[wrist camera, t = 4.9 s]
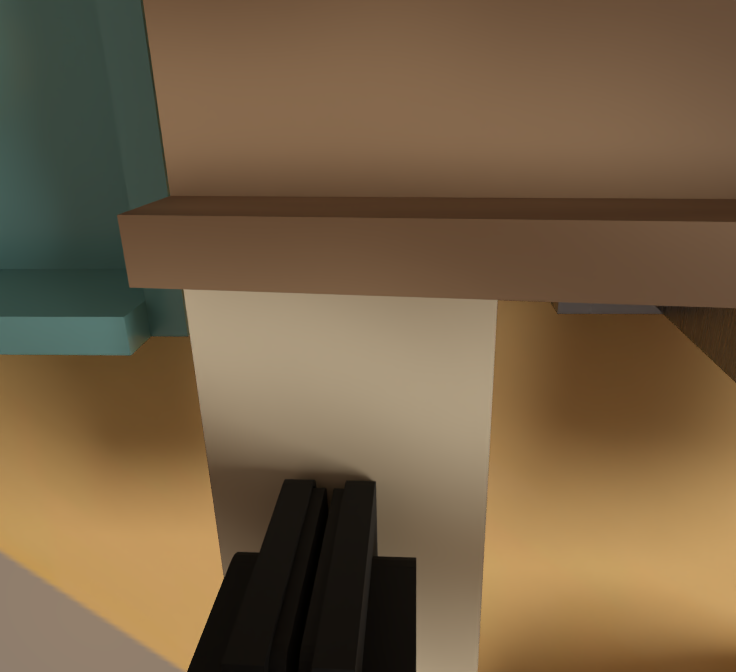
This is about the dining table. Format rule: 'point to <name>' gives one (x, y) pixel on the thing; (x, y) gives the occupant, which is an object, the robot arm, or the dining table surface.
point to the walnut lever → (418, 234)
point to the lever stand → (681, 326)
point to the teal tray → (77, 178)
